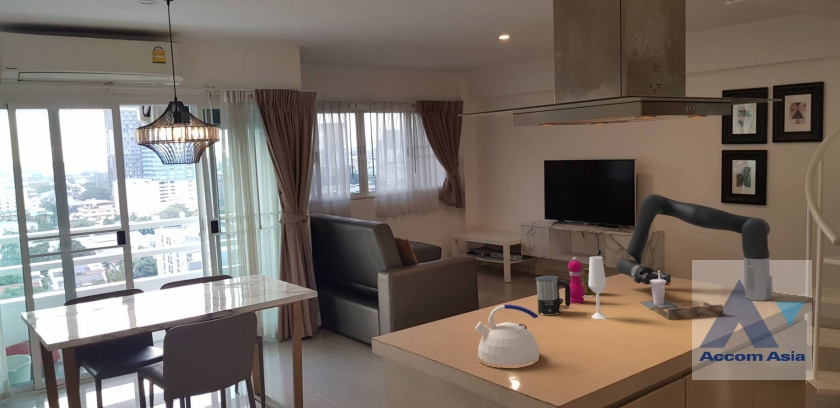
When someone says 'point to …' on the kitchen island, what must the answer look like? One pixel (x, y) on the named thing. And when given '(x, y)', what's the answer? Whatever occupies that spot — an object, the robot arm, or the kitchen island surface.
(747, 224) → the robot arm
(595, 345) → the kitchen island surface
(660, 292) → the smoothie
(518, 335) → the kettle
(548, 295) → the milk frother
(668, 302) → the slate mat
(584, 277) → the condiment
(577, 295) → the pepper mill
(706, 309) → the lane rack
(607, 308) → the kitchen island surface
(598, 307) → the champagne flute
